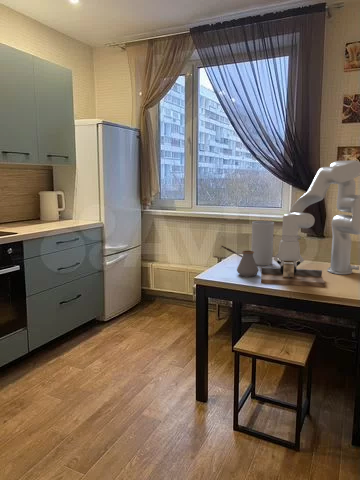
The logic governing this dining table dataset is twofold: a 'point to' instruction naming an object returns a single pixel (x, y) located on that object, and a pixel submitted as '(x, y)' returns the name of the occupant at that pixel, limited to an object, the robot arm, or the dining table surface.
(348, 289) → the dining table surface
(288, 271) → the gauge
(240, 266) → the coffee pot
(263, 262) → the cylinder vase
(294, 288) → the dining table surface
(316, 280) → the board
